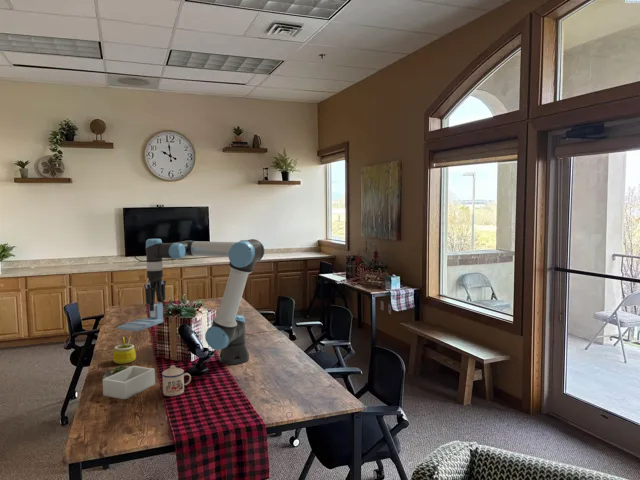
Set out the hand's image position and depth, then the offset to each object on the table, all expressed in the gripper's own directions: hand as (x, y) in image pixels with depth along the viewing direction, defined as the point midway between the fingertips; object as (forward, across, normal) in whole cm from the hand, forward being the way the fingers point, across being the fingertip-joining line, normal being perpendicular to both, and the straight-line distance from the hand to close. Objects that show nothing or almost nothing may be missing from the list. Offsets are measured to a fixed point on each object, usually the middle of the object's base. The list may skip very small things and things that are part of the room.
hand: (156, 315), depth 245 cm
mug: (+24, +3, -18) cm, 30 cm away
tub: (+24, +33, +12) cm, 43 cm away
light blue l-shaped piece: (+3, +9, 0) cm, 9 cm away
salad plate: (+25, +20, -2) cm, 32 cm away
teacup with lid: (+24, +28, +33) cm, 50 cm away
